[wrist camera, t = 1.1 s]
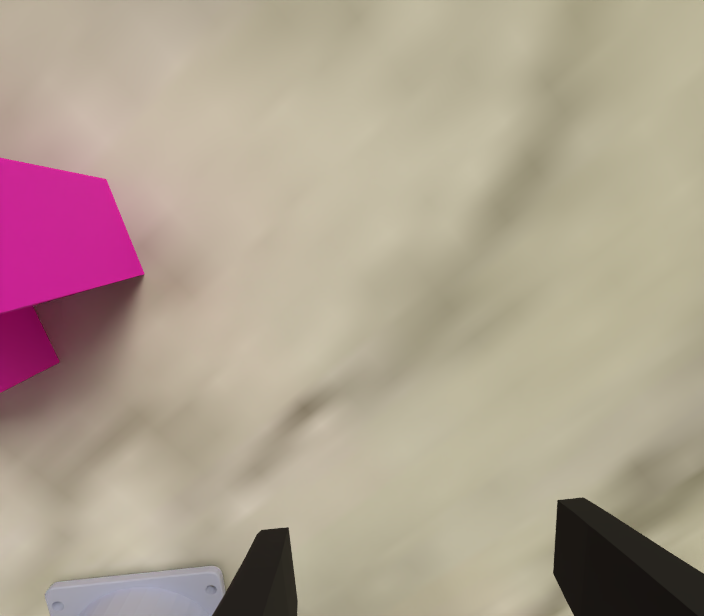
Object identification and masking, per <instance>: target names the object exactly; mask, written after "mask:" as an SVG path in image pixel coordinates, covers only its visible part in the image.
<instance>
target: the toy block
mask: <svg viewBox="0 0 704 616" xmlns="http://www.w3.org/2000/svg"><path fill="white" fill-rule="evenodd" d="M143 274H144V272H143V269H142V267H141V264H140V262H139V259H138V257H137V254H136V252H135V250H134V247H133V245H132V242H131V240H130V237H129V235H128V232H127V230H126V227H125V225H124V222H123V220H122V217H121V215H120V212H119V210H118V207H117V205H116V202H115V200H114V197H113V195H112V193H111V190H110V188H109V185H108V183H107V180H106V179H103V178H98V177H93V176H88V175H83V174H78V173H73V172H68V171H63V170H58V169H53V168H48V167H44V166H39V165H34V164H29V163H24V162H19V161H14V160H9V159H4V158H0V393H1V392H3V391H5V390H7V389H9V388H11V387H12V386H14V385H16V384H18V383H20V382H22V381H24V380H26V379H28V378H30V377H32V376H34V375H36V374H38V373H40V372H42V371H44V370H46V369H48V368H50V367H52V366H54V365H56V364H58V363H59V360H58V358H57V355H56V353H55V351H54V349H53V347H52V345H51V343H50V341H49V339H48V337H47V335H46V333H45V331H44V328H43V326H42V324H41V322H40V320H39V318H38V316H37V314H36V312H35V310H34V308H33V306H34V305H37V304H41V303H44V302H48V301H51V300H55V299H58V298H62V297H65V296H69V295H72V294H76V293H80V292H83V291H87V290H90V289H94V288H97V287H101V286H104V285H108V284H111V283H115V282H118V281H122V280H126V279H129V278H133V277H136V276H140V275H143Z"/></svg>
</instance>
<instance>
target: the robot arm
mask: <svg viewBox="0 0 704 616" xmlns="http://www.w3.org/2000/svg"><path fill="white" fill-rule="evenodd" d="M553 574H554V576H555V578H556V580H557V582H558V584H559V586H560V588H561V590H562V592H563V595H564V597H565V599H566V601H567V603H568V605H569V607H570V608H571V610H572V612H573V614H574V616H704V574H703V573H702V572H700V571H698V570H697V569H695V568H694V567H692V566H690V565H689V564H687V563H686V562H684V561H683V560H681V559H679V558H678V557H676V556H675V555H673V554H672V553H670V552H668V551H667V550H665V549H664V548H662V547H661V546H659V545H657V544H656V543H654V542H653V541H651V540H650V539H648V538H647V537H645V536H644V535H642V534H640V533H639V532H637V531H636V530H634V529H633V528H631V527H630V526H628V525H627V524H625V523H623V522H622V521H620V520H619V519H617V518H616V517H614V516H613V515H611V514H609V513H608V512H606V511H605V510H603V509H601V508H600V507H598V506H597V505H595V504H593V503H592V502H590V501H588V500H587V499H585V498H575V499H565V500H558V503H557V520H556V537H555V553H554V570H553ZM210 585H213V586H215V587H213V586H210ZM45 599H46V602H47V606H48V609H49V612H50V615H51V616H297V602H298V601H297V593H296V585H295V577H294V569H293V560H292V552H291V544H290V536H289V528H278V529H268V530H261V531H260V532H259V533H258V534H257V535H256V537H255V539H254V541H253V543H252V545H251V547H250V549H249V551H248V553H247V555H246V557H245V559H244V561H243V563H242V564H241V566H240V568H239V570H238V572H237V573H236V575H235V577H234V579H233V581H232V582H231V584H230V586H229V588H228V589H227V591H225V586H224V580H223V574H222V571H221V570H220V569H219V568H218V567H216V566H204V567H194V568H184V569H175V570H165V571H156V572H146V573H136V574H127V575H117V576H108V577H98V578H88V579H79V580H69V581H60V582H55V583H53V584H52V585H51V586H50V587H49V589H48V590H47V591H46V593H45Z"/></svg>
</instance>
